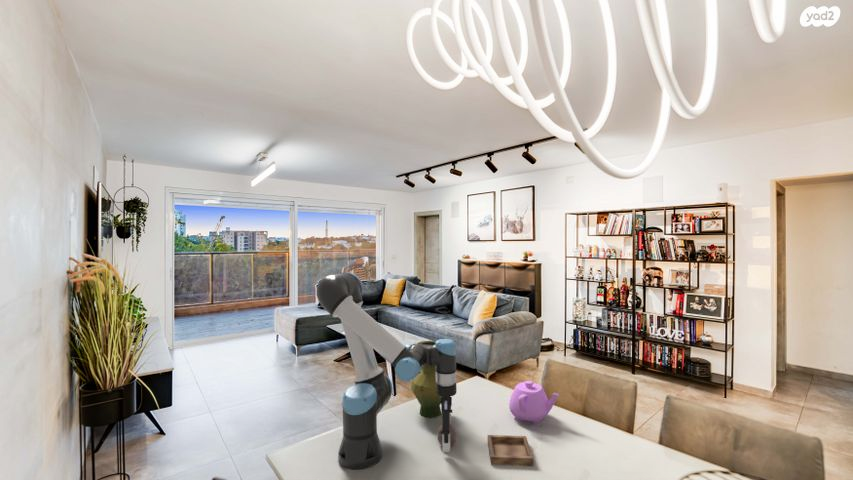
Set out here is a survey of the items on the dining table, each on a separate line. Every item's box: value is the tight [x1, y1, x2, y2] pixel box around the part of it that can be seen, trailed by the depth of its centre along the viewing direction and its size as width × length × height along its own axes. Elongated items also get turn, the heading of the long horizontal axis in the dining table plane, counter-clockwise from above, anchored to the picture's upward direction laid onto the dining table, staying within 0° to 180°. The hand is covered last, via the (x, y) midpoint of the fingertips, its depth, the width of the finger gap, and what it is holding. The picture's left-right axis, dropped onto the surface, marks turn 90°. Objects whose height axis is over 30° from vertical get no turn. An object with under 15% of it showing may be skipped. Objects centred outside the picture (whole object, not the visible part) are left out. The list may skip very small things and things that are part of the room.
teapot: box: [508, 380, 560, 426], centre depth 156 cm, size 20×20×15 cm
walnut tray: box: [487, 434, 535, 467], centre depth 132 cm, size 14×14×3 cm
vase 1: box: [410, 340, 442, 419], centre depth 164 cm, size 16×16×30 cm
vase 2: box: [437, 422, 457, 449], centre depth 138 cm, size 7×7×9 cm
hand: (446, 440), depth 138 cm, fingers open, 13 cm apart
